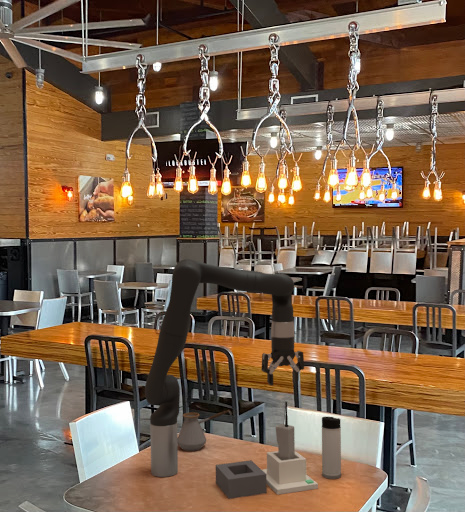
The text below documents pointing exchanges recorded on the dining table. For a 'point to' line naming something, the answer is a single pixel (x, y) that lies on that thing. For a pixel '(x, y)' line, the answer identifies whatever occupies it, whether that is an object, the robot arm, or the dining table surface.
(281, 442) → the vintage mobile phone
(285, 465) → the charging dock
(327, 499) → the dining table surface
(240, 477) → the holster
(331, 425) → the travel mug
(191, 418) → the coffee pot
